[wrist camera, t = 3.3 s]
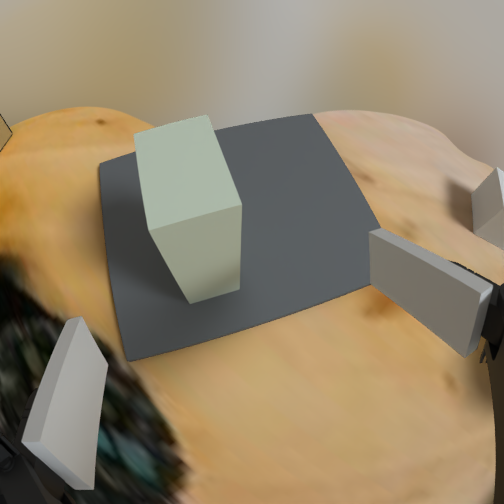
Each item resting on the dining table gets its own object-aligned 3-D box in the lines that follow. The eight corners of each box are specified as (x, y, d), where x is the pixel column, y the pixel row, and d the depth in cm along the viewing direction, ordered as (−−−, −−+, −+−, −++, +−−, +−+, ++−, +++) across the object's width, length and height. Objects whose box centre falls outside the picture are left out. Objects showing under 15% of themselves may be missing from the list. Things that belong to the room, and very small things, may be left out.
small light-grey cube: (505, 251, 28) (536, 229, 22) (472, 233, 28) (503, 207, 23) (501, 212, 30) (528, 189, 24) (470, 194, 30) (496, 166, 25)
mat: (130, 361, 22) (127, 361, 21) (101, 168, 29) (99, 163, 28) (398, 273, 26) (402, 270, 25) (310, 118, 33) (311, 113, 32)
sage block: (189, 304, 23) (148, 230, 12) (172, 236, 25) (133, 133, 14) (239, 289, 24) (242, 204, 13) (217, 223, 26) (207, 114, 15)
